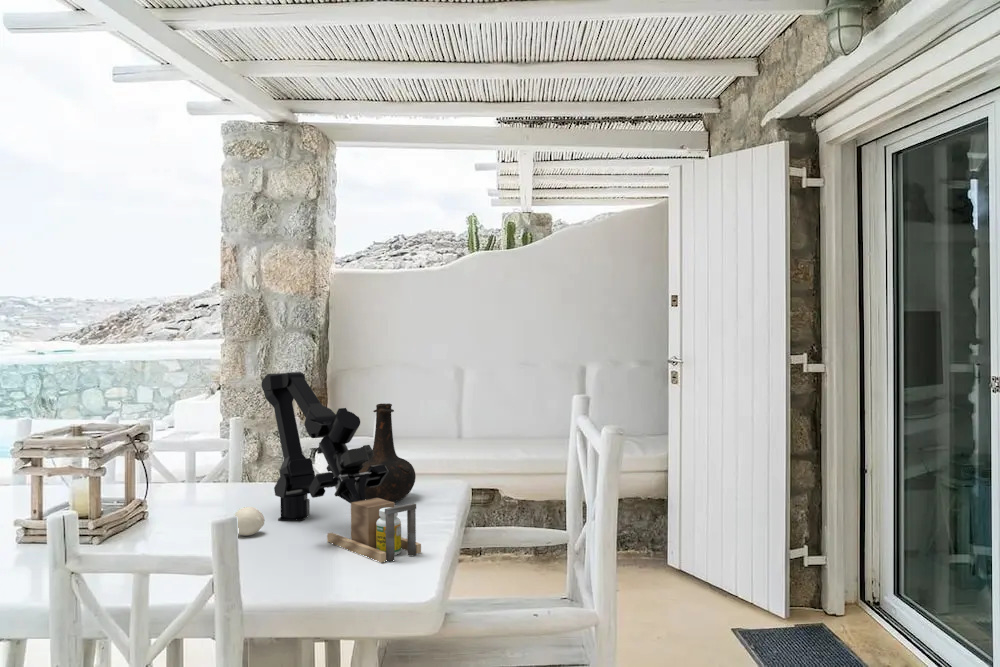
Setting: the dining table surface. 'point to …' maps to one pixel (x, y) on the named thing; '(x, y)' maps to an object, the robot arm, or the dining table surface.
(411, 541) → the channel
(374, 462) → the glass bottle
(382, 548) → the supplement bottle
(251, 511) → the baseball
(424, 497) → the dining table surface
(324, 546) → the dining table surface
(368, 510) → the block
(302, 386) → the robot arm
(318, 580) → the dining table surface
